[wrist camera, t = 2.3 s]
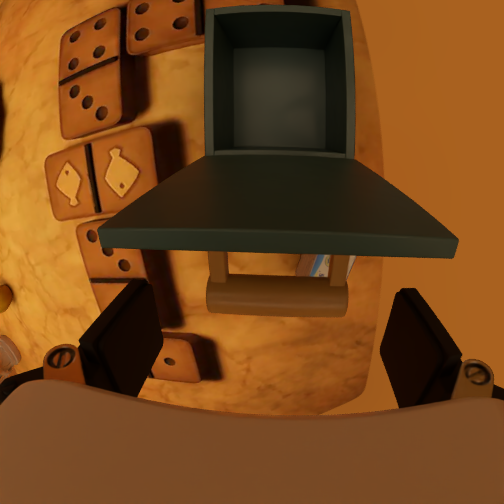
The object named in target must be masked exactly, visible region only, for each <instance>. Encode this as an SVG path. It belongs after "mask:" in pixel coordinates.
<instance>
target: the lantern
mask: <svg viewBox="0 0 504 504" xmlns="http://www.w3.org/2000/svg"><path fill="white" fill-rule="evenodd" d="M20 359H21V355H20V353H19V351H18V349H17V347H16V346H15V344H14V343H13V342H12V341H11V340H10V339H9V338H8V337H7V336H5V335H2V336H0V378H1V377H2V376H4V377H3V379H2V380H1V381H0V384H1V383H2V381H3V380H4V379H5V378H6V377H7V376H8V375H9V374H10V372H11V371H12V367H13V366H14V365H17V364H18V363H19V361H20ZM7 370H8V371H7Z"/></svg>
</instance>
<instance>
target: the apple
mask: <svg viewBox="0 0 504 504" xmlns="http://www.w3.org/2000/svg"><path fill="white" fill-rule="evenodd" d="M11 301H12V292H11V291H10V289H9V288H8V287H7V286H5V285H0V313H3V312H4V311H6V310H7V309H8V307H9V305H10V304H11Z"/></svg>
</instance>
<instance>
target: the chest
mask: <svg viewBox="0 0 504 504" xmlns="http://www.w3.org/2000/svg"><path fill="white" fill-rule="evenodd" d="M204 127H205V156H214V155H292V156H314V157H330V158H344V159H354V155H355V70H354V52H353V38H352V27H351V17H350V11H346V10H339V9H332V8H323V7H312V6H296V5H249V6H233V7H222V8H215V9H206V18H205V54H204Z"/></svg>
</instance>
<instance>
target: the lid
mask: <svg viewBox="0 0 504 504" xmlns="http://www.w3.org/2000/svg"><path fill="white" fill-rule="evenodd" d="M97 231H98V235H99V240H100V244H101V247H102V248H125V249H156V250H188V251H208V260H209V270H210V276H209V279H208V282H207V288H206V304H207V308H208V311H209V312H211V313H222V314H238V315H257V316H283V317H343V316H345V314H346V311H347V306H348V285H347V281H346V277H347V271H348V266H349V260H350V256H383V257H417V258H449V259H452V258H454V255H455V252H456V249H457V245H458V242H459V239H458V238H457V237H456V236H455V235H454V234H452V233H451V232H450V231H449V230H448V229H447V228H446V227H445V226H443V225H442V224H441V223H440V222H439V221H437V220H436V219H435V218H434V217H433V216H432V215H430V214H429V213H428V212H427V211H425V210H424V209H423V208H422V207H421V206H419V205H418V204H417V203H416V202H414V201H413V200H412V199H410V198H409V197H408V196H406V195H405V194H404V193H402V192H401V191H400V190H399V189H397V188H396V187H394V186H393V185H392V184H390V183H389V182H388V181H386V180H385V179H383V178H382V177H381V176H379V175H378V174H376V173H375V172H373V171H372V170H370V169H369V168H367V167H366V166H364V165H363V164H361V163H360V162H358V161H357V160H355V159H344V158H330V157H314V156H292V155H214V156H203V157H201V158H200V159H198V160H196V161H195V162H193V163H191V164H190V165H188V166H187V167H185V168H183V169H182V170H180V171H179V172H177V173H175V174H174V175H172V176H171V177H169V178H168V179H166V180H165V181H163V182H161V183H160V184H158V185H157V186H155V187H154V188H152V189H151V190H150V191H148V192H147V193H145V194H144V195H142V196H141V197H139V198H138V199H136V200H135V201H134V202H132V203H131V204H129V205H128V206H127V207H125V208H124V209H123V210H121V211H120V212H118V213H117V214H116V215H114V216H113V217H112V218H110V219H109V220H108V221H106V222H105V223H104V224H102V225H101V226H100V227H99V228H98V229H97ZM227 252H253V253H285V254H317V255H330V262H329V269H328V276H327V277H312V276H277V275H249V274H229V269H228V253H227Z"/></svg>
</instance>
